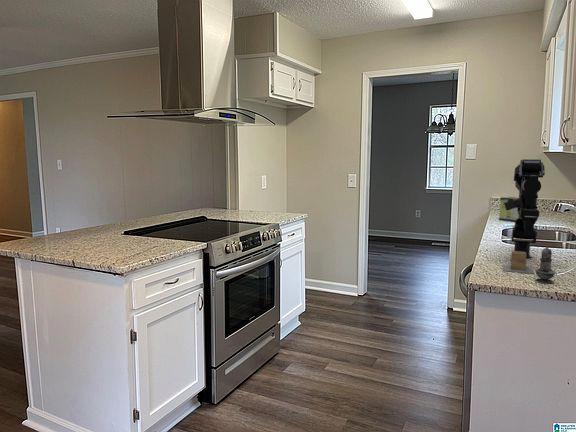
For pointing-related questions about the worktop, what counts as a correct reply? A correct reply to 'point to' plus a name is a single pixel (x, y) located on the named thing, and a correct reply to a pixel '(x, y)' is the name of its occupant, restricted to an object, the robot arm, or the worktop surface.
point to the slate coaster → (527, 270)
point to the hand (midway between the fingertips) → (526, 232)
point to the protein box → (508, 211)
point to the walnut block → (518, 260)
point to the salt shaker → (545, 267)
